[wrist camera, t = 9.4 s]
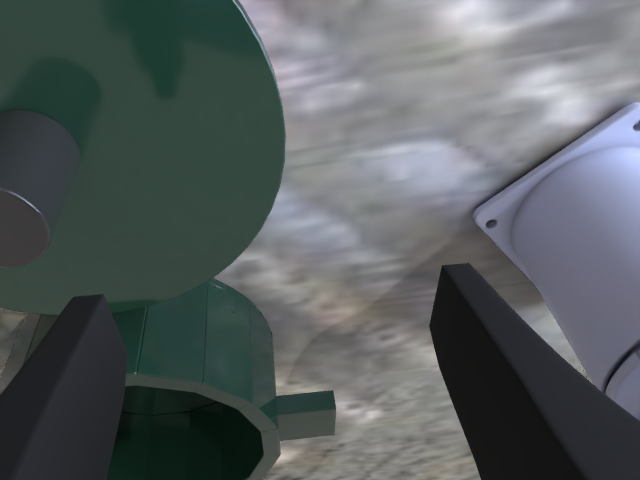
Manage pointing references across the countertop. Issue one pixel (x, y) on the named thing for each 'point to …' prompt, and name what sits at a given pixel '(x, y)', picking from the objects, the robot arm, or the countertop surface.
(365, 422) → the countertop surface
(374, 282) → the countertop surface
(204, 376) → the pot
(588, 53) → the countertop surface
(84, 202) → the lid
